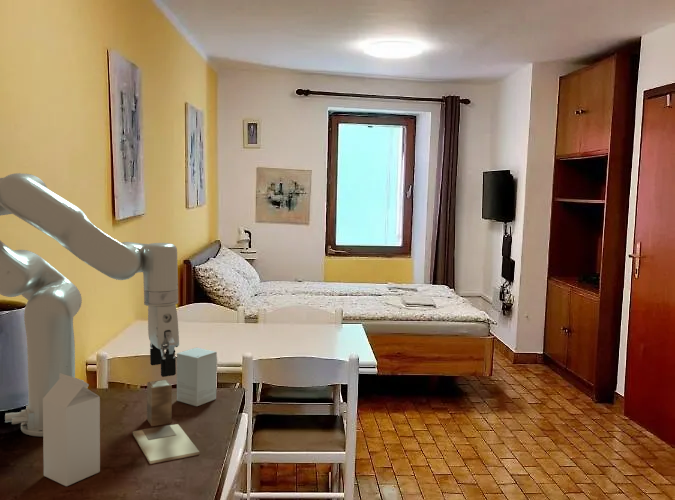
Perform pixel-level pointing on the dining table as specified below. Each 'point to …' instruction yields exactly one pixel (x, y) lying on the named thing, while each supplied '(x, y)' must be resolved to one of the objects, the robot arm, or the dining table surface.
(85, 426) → the milk carton
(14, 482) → the dining table surface
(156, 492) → the dining table surface
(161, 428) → the board
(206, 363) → the supplement box
